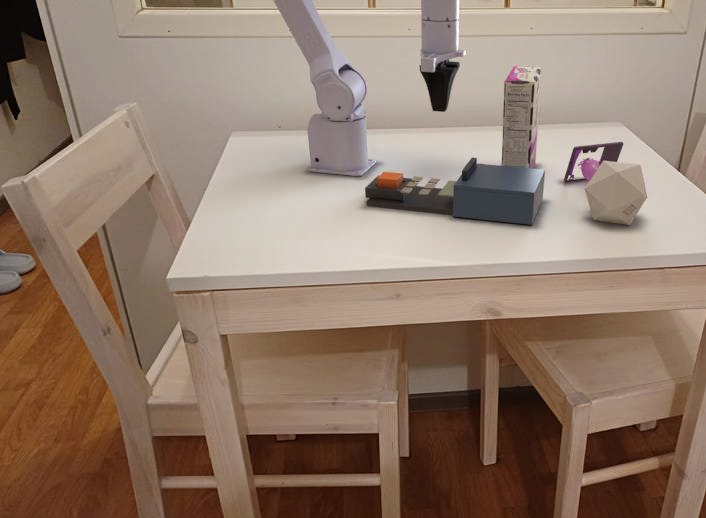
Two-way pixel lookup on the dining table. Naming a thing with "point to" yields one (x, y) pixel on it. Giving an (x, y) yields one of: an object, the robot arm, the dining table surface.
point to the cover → (498, 193)
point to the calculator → (408, 199)
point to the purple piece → (591, 165)
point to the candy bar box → (521, 116)
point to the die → (616, 192)
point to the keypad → (430, 187)
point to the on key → (390, 180)
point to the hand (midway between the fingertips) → (439, 110)
